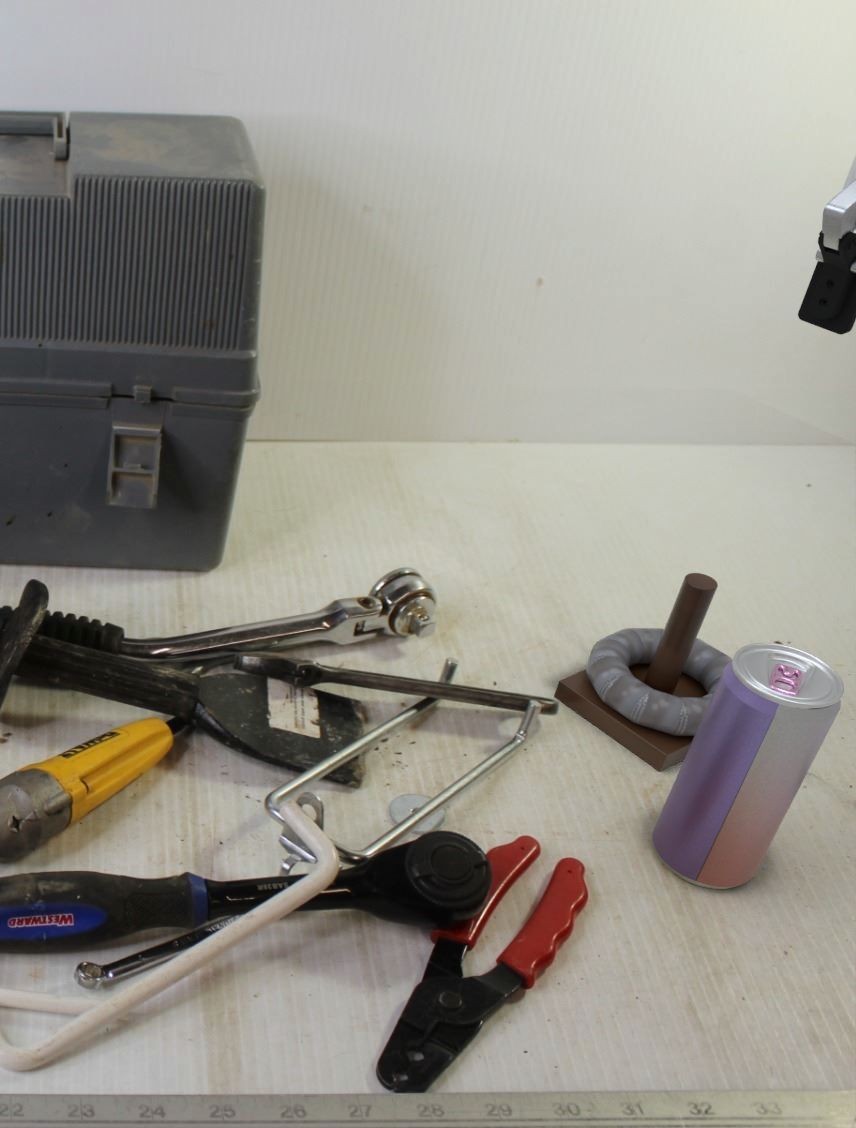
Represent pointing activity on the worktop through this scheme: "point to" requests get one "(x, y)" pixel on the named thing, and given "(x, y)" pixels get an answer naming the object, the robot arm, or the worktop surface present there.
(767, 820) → the beverage can
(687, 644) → the stand
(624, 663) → the ring
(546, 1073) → the worktop surface
